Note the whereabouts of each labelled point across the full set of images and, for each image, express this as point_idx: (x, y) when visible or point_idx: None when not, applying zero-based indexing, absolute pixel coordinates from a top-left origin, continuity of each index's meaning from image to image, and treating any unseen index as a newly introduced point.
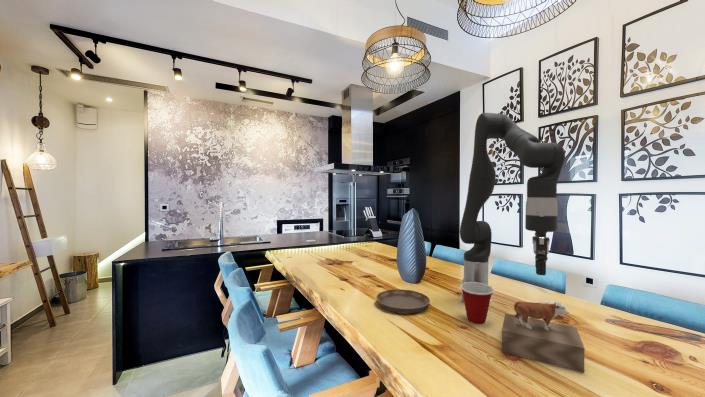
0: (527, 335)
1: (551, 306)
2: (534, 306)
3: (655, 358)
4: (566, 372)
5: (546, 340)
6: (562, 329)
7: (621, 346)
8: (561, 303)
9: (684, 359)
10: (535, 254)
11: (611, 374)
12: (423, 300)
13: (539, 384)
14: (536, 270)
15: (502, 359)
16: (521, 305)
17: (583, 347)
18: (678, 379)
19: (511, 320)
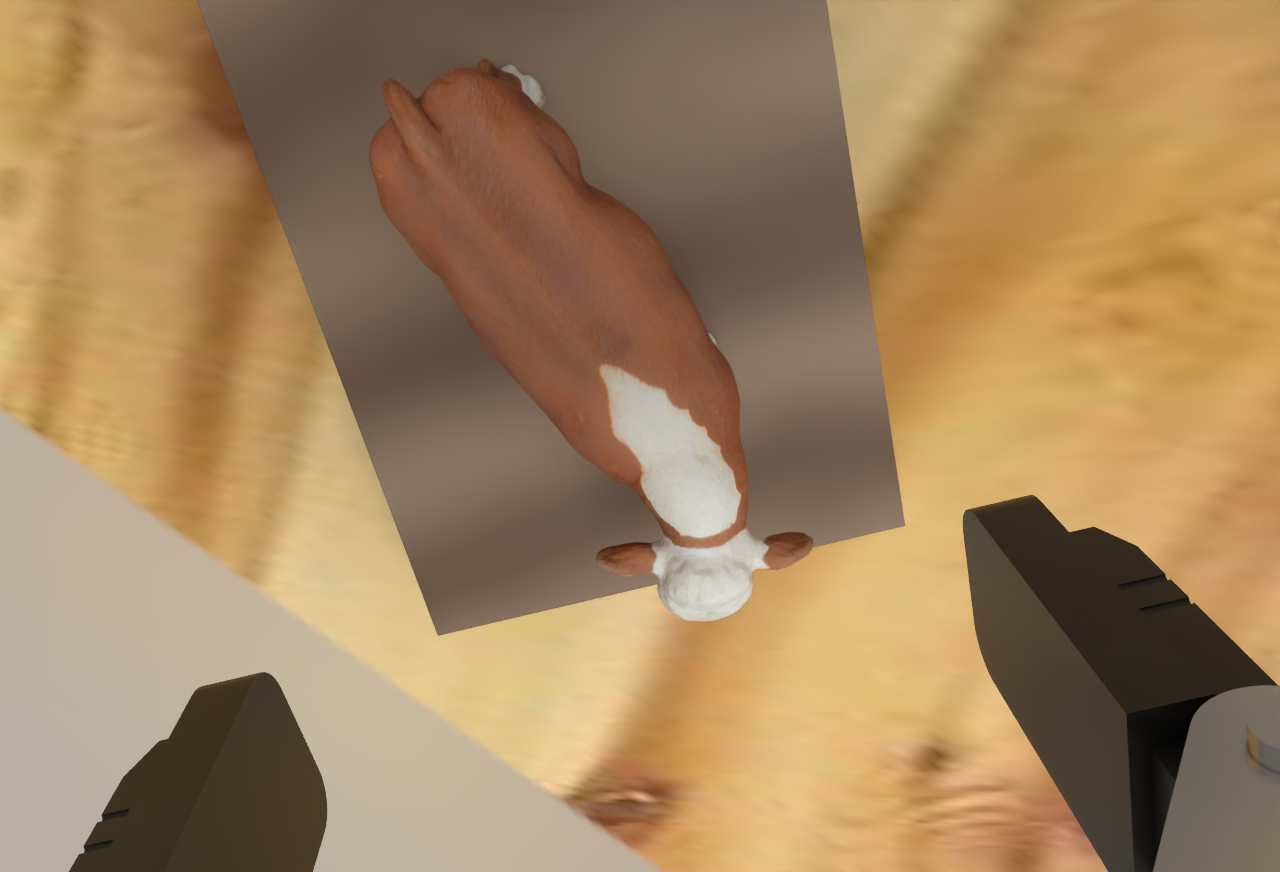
0: (300, 243)
1: (639, 494)
2: (499, 333)
3: (1030, 794)
4: (368, 456)
5: (349, 397)
6: None
7: None
8: (695, 607)
9: None
10: (1207, 714)
11: (580, 646)
12: None
13: (31, 361)
14: (170, 741)
15: (135, 42)
16: (388, 191)
17: (449, 628)
18: (801, 868)
19: None
